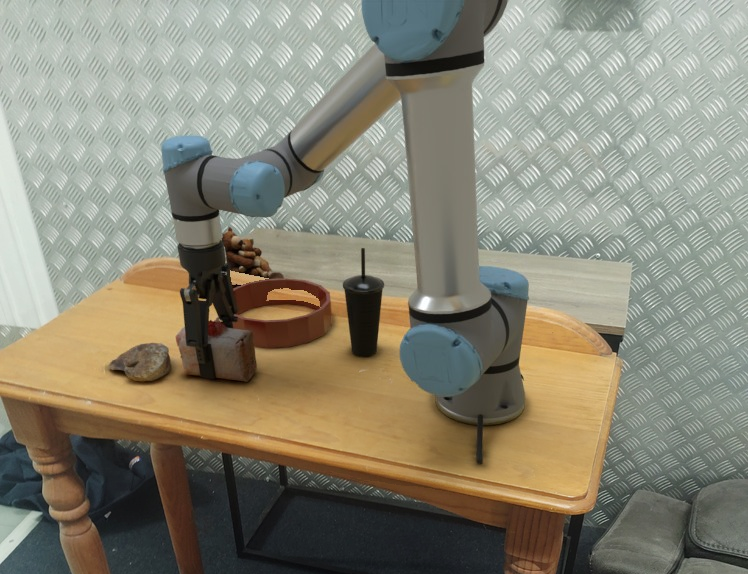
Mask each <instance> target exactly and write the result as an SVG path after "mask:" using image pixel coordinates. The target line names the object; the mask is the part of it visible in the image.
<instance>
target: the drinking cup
mask: <svg viewBox="0 0 748 574" xmlns="http://www.w3.org/2000/svg"><path fill="white" fill-rule="evenodd" d="M360 261H361V262H360V265H361V266H360V267H361V272H360V273H361V274H357V275H354V276H352V277H348V278H347V279H345V280H344V281H342V289H343V290H344V297H345V305H346V313H347V321H348V322H347V323H348V331H349V340H350V346H351V353H352V354H353V355H354V356H356V357H359V358H368V357H373V356H374V355H375V354H376V353H377V350H378V349H377V348H378V340H379V338H378V337H379V330H380V329H379V328H380V320H381V312H382V311H381V309H382V298H383V289H384V288H385V282H384V280H383V279H381V278H379V277H376V276H374V275H370V274H366V248H365V247H361V248H360Z"/></svg>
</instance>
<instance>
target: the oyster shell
mask: <svg viewBox="0 0 748 574" xmlns="http://www.w3.org/2000/svg"><path fill="white" fill-rule="evenodd" d="M169 351H170V350H169V347H168V346H167V345H165V344H163V343H161V342H160V343H159V342H149V343H148V342H146V343H139V344H137V345H135V346H132V347H131V348H129V349H128V350H126V351H124V352H123V353H121V354H119V355H118V356H117V357H116V358H115V359H113V360H112V361H111V362H110V363H109V364H108V369H109V370H113V371H115V370H117V371H123V372H124V373H125V375H126V376H127V378H129V379H130V380H133V381H134V382H153V381H156V380H158V379H160V378H162V377H164V376H165V375H167V374H169V373H170V371H171V369H172V362H171V360H172V359H171V356H170V354H169Z"/></svg>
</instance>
